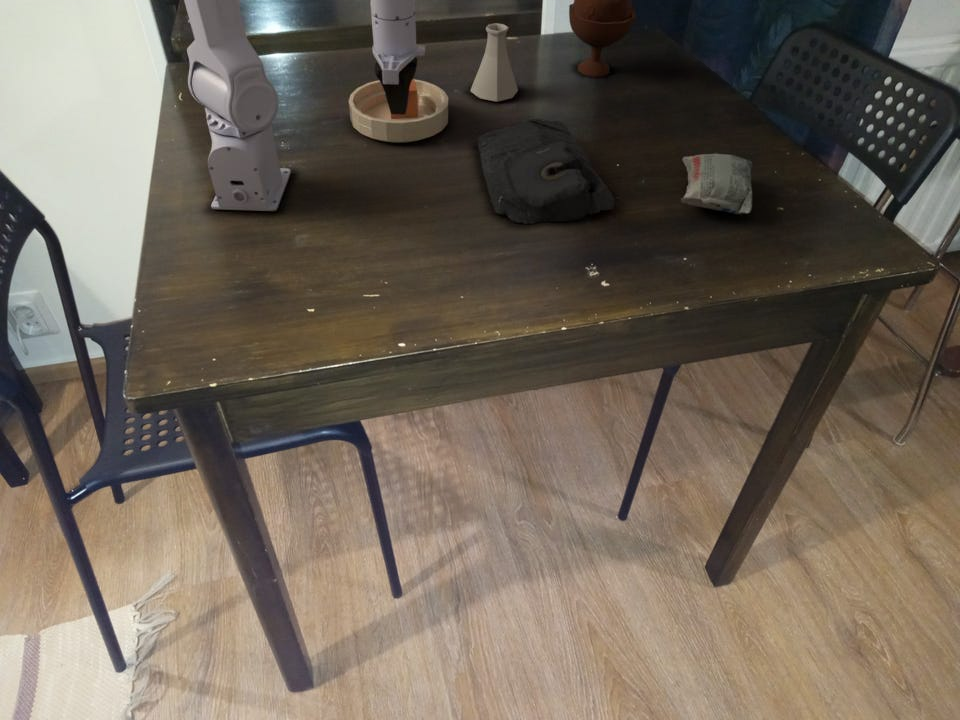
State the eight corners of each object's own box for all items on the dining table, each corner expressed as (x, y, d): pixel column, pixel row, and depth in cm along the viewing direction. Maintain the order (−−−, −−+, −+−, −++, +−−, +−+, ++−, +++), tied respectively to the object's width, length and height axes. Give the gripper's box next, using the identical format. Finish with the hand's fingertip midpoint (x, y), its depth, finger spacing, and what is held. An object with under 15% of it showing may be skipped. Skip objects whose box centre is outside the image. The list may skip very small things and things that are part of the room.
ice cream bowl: (623, 58, 122) (640, -36, 111) (626, 86, 114) (644, -13, 103) (562, 54, 122) (573, -41, 112) (561, 81, 114) (573, -18, 104)
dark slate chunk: (575, 134, 102) (579, 102, 99) (619, 219, 87) (625, 185, 83) (472, 139, 100) (472, 107, 97) (498, 227, 85) (500, 192, 81)
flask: (490, 78, 114) (493, 14, 107) (525, 92, 111) (531, 26, 104) (462, 92, 110) (463, 27, 103) (497, 107, 107) (501, 40, 100)
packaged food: (676, 216, 87) (686, 182, 84) (679, 169, 96) (689, 136, 92) (746, 228, 86) (759, 194, 83) (744, 180, 94) (756, 147, 91)
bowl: (446, 147, 98) (446, 124, 95) (345, 144, 98) (342, 120, 95) (449, 102, 108) (450, 79, 105) (358, 99, 108) (356, 76, 105)
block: (418, 117, 103) (417, 90, 100) (391, 118, 102) (389, 92, 99) (415, 105, 106) (414, 78, 103) (388, 106, 105) (386, 80, 102)
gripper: (420, 35, 85) (423, 137, 95) (427, -6, 96) (429, 91, 105) (362, 33, 85) (371, 136, 95) (376, -8, 96) (382, 89, 105)
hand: (398, 112), depth 100 cm, fingers closed
